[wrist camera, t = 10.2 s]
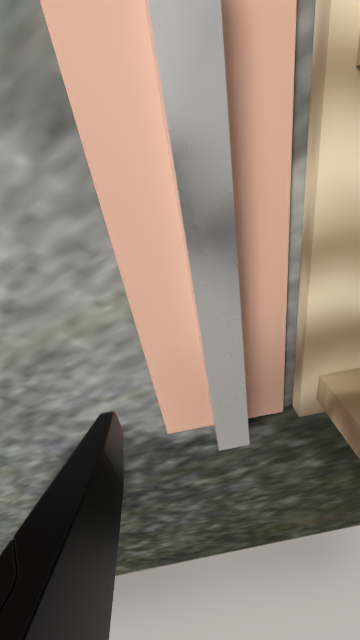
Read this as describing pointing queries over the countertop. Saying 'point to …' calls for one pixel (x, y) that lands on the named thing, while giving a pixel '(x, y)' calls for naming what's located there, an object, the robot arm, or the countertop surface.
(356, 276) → the hook stand
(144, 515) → the countertop surface
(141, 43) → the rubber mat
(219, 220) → the steel rail
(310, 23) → the countertop surface
